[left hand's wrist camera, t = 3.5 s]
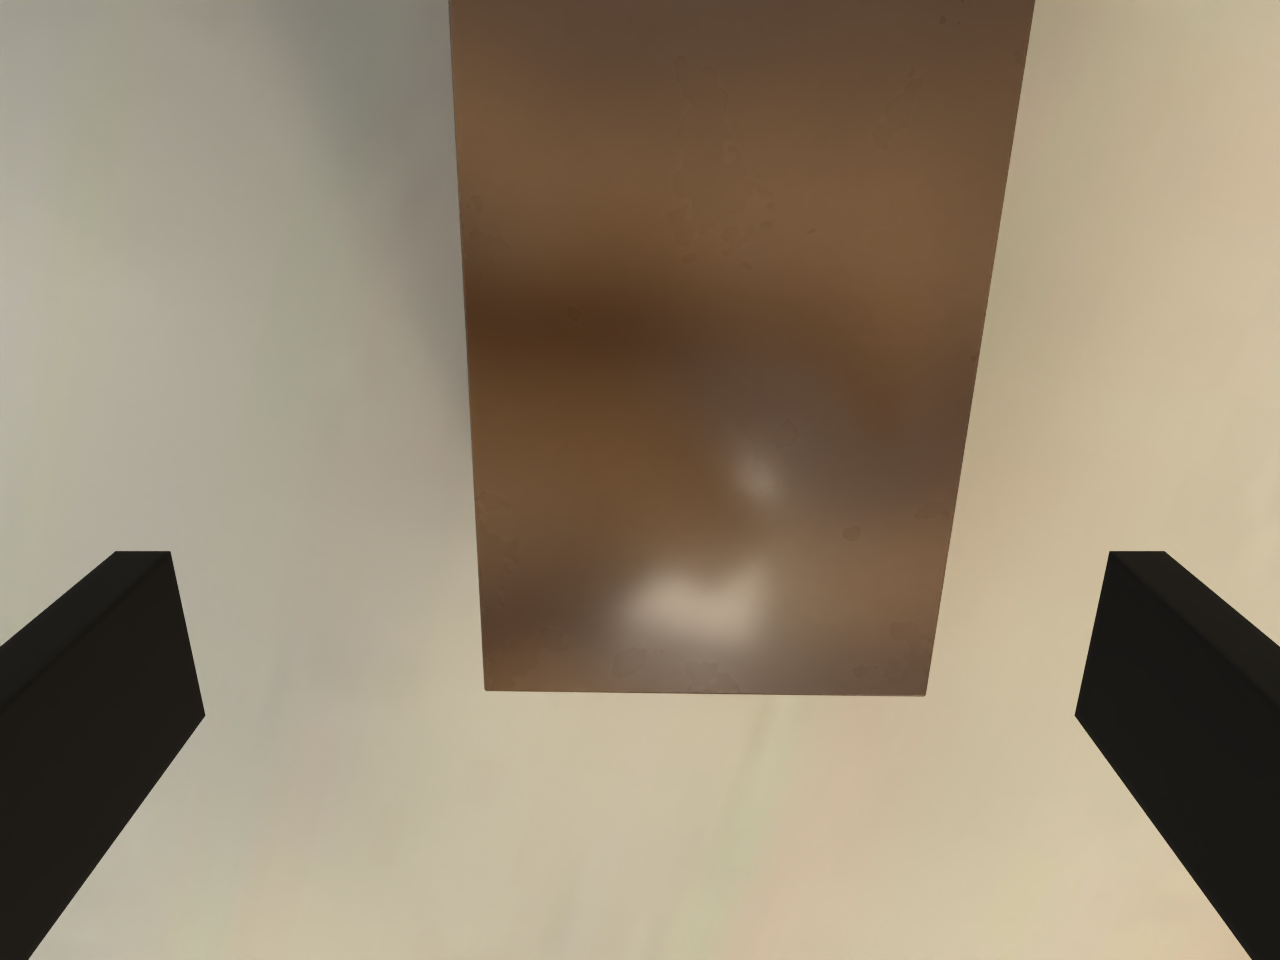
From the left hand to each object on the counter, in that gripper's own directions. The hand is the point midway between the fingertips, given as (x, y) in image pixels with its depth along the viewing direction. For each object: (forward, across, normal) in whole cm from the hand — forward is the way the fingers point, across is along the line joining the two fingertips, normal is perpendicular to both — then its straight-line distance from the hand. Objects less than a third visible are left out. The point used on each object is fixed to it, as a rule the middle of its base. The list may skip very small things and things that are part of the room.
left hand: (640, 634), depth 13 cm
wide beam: (+13, -2, -23) cm, 26 cm away
